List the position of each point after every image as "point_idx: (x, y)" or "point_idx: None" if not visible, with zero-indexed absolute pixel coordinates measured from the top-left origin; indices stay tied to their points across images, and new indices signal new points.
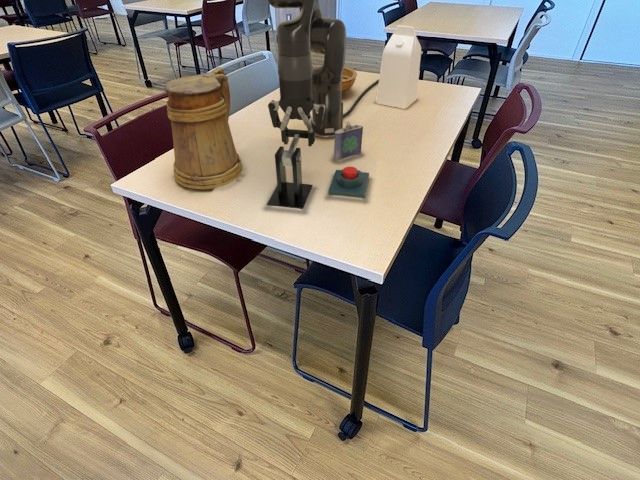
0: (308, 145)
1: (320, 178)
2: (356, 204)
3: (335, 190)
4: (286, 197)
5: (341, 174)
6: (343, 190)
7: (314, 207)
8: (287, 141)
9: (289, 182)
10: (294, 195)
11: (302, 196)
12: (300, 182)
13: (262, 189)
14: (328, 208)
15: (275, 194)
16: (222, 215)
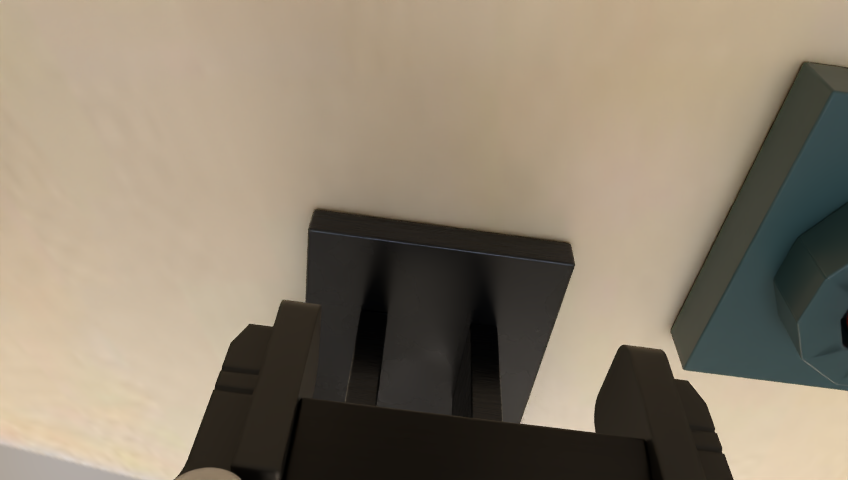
0: (597, 425)
1: (647, 103)
2: None
3: (733, 366)
4: (401, 387)
5: (842, 314)
6: (790, 367)
7: (570, 402)
8: (314, 370)
9: (390, 242)
10: None
11: (501, 379)
12: None
13: (207, 256)
14: None
15: (325, 364)
16: (103, 449)
